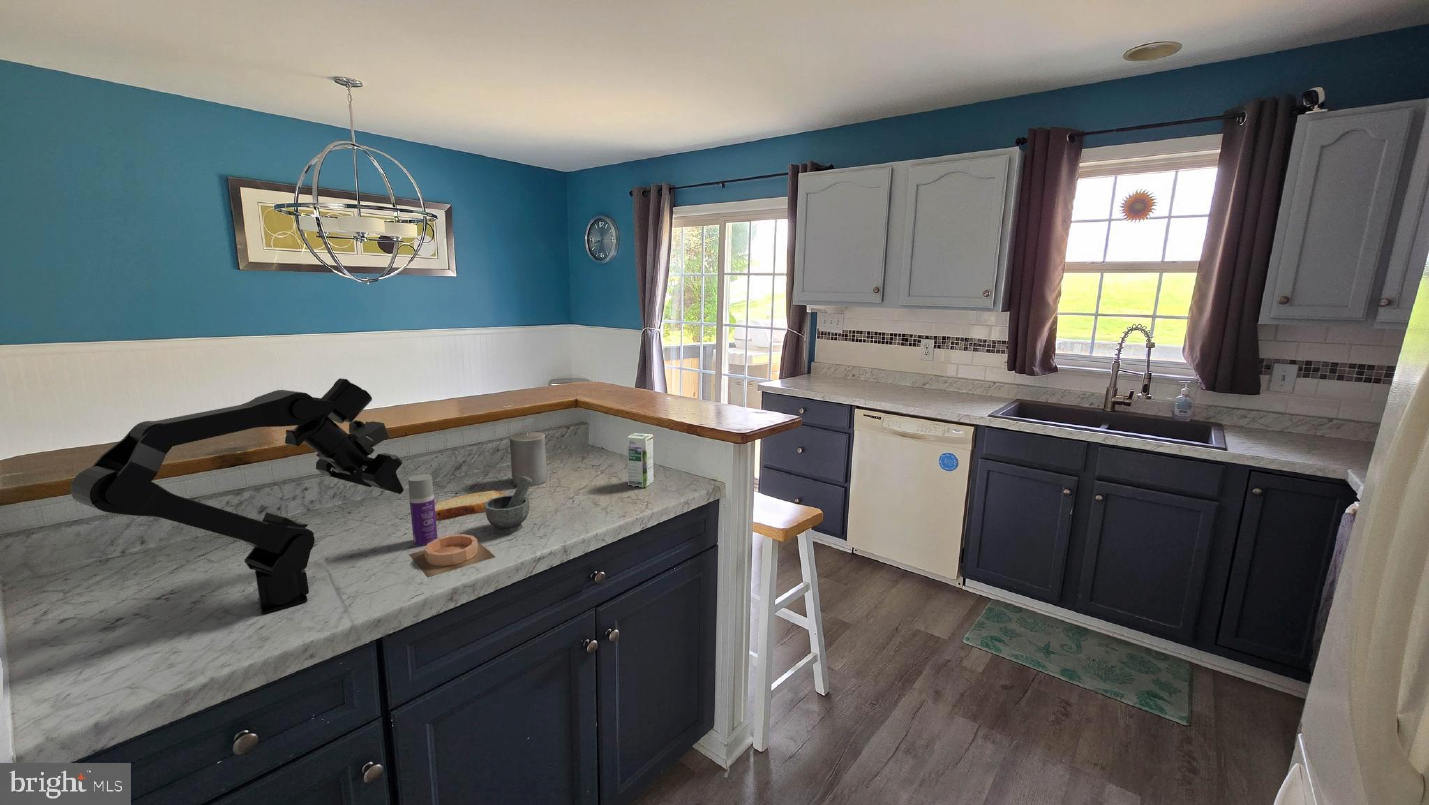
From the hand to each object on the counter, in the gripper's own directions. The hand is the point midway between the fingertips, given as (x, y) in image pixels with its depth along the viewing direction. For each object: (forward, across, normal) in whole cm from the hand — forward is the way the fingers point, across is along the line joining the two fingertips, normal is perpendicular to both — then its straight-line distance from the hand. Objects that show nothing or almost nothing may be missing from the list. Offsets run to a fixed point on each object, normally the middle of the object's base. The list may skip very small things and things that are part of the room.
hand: (386, 488), depth 117 cm
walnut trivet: (+14, -13, +6) cm, 19 cm away
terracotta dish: (+13, -13, +5) cm, 19 cm away
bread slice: (+27, +6, -10) cm, 29 cm away
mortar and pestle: (+24, -13, -7) cm, 28 cm away
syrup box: (+49, -22, -38) cm, 66 cm away
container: (+15, -2, +4) cm, 16 cm away
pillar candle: (+41, +8, -29) cm, 51 cm away
